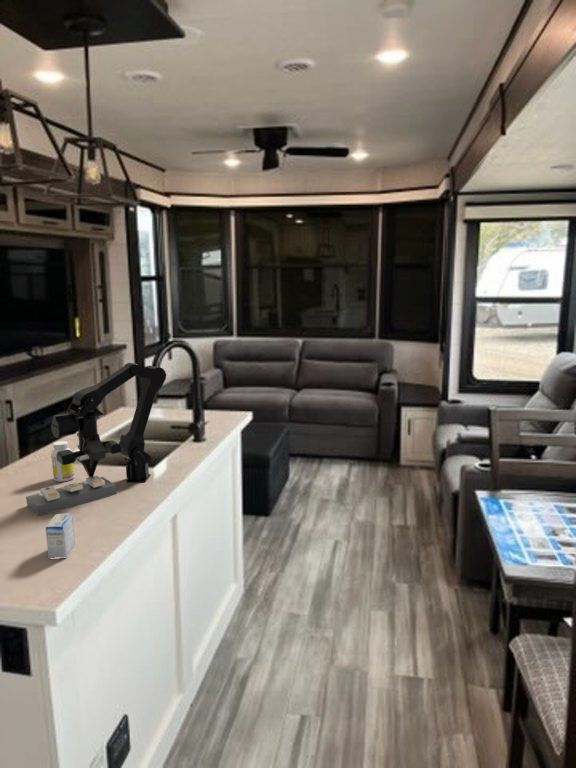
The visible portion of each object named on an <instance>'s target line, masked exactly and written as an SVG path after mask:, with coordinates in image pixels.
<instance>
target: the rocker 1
mask: <svg viewBox="0 0 576 768" xmlns="http://www.w3.org/2000/svg"><path fill="white" fill-rule="evenodd" d="M56 489H57V488H55V487H54V486H53V485H51V486H47V487H43V488H40V489H39V490H40V492H39V493H41V494H42V495H43V496H44V497H45V499H46V500H47V501H51V500H54V499H58V498H60V494H59V493H58V492H57V491H56Z"/></svg>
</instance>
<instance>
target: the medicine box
mask: <svg viewBox="0 0 576 768" xmlns="http://www.w3.org/2000/svg"><path fill="white" fill-rule="evenodd" d="M74 524H75V523H74V516H73V514H72V513H56V514H54V516H53V517H52V519H51V520H50V521H49V522H48V524H47V525H46V526H45V536H46V545H47V555H48V556H47V557H48V559H49V558H55V557H67V558H68V556H69V555H70V553H71V551H72V549H73V548H72V547H74V546H75V545H76V536H75V534H76V533H75V525H74ZM73 545H74V546H73ZM70 550H71V551H70ZM69 552H70V553H69ZM68 554H69V555H68ZM67 555H68V556H67Z"/></svg>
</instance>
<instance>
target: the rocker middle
mask: <svg viewBox="0 0 576 768" xmlns="http://www.w3.org/2000/svg"><path fill="white" fill-rule="evenodd" d="M77 483H78V482H74V483H70V484H66V485H64V486H63V487H64V490H67V491H70V492H73V491H76V490H80V489H83V485H81V484H77Z"/></svg>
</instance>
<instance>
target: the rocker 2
mask: <svg viewBox="0 0 576 768" xmlns="http://www.w3.org/2000/svg"><path fill="white" fill-rule="evenodd" d="M100 477H101V476H99V475H94V476H93V477H89V476H88V477H86V478H85V481H86V482H87V483H88V484H90V485H91V486H92V487H94V488H95V487H98V486H102V485H105V481H104V480H103V479H101V478H100Z"/></svg>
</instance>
